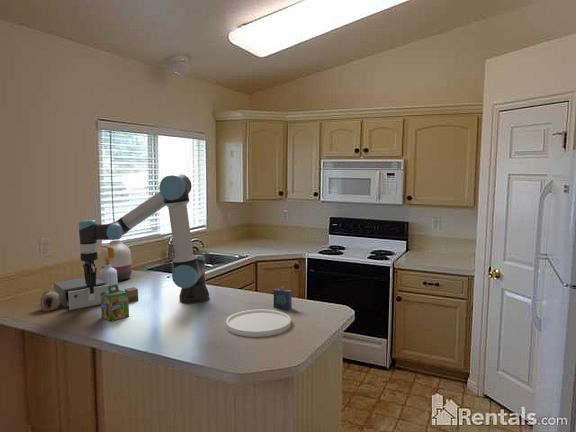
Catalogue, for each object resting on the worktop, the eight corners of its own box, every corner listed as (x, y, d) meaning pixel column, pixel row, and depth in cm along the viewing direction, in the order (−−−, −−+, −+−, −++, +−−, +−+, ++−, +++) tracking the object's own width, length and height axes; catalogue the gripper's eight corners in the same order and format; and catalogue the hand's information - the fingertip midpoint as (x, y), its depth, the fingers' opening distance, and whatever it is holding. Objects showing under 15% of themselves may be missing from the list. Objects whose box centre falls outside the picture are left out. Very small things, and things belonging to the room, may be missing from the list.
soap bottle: (96, 290, 245) (94, 247, 242) (109, 286, 253) (106, 244, 251) (109, 292, 242) (106, 248, 239) (121, 287, 250) (119, 245, 247)
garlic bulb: (42, 314, 213) (34, 295, 212) (60, 307, 218) (53, 288, 218) (47, 312, 206) (39, 292, 206) (65, 305, 212) (58, 286, 212)
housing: (106, 299, 228) (105, 282, 227) (64, 307, 215) (63, 289, 214) (95, 292, 242) (94, 276, 241) (55, 299, 229) (53, 282, 228)
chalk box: (111, 322, 194) (109, 289, 192) (100, 317, 200) (98, 285, 198) (130, 316, 201) (128, 285, 199) (119, 312, 207) (118, 281, 205)
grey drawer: (110, 302, 222) (109, 285, 221) (70, 310, 210) (69, 292, 209) (98, 294, 236) (97, 278, 235) (59, 301, 224) (58, 284, 223)
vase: (107, 276, 278) (105, 239, 275) (135, 275, 280) (133, 238, 277) (98, 283, 261) (96, 243, 259) (128, 282, 263) (126, 243, 260)
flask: (292, 308, 211) (292, 286, 210) (290, 310, 208) (289, 288, 207) (274, 306, 214) (274, 284, 213) (272, 308, 212) (272, 286, 210)
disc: (96, 292, 221) (95, 289, 221) (79, 295, 216) (79, 292, 216) (91, 289, 227) (90, 285, 227) (74, 292, 222) (74, 288, 222)
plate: (266, 342, 170) (266, 336, 170) (212, 329, 185) (212, 323, 185) (302, 321, 194) (302, 315, 194) (251, 310, 209) (251, 305, 208)
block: (138, 300, 226) (137, 289, 225) (128, 302, 222) (128, 290, 222) (134, 298, 229) (134, 287, 229) (125, 300, 226) (124, 288, 225)
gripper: (101, 252, 209) (104, 301, 212) (92, 249, 219) (95, 295, 221) (84, 254, 204) (87, 304, 207) (76, 251, 214) (79, 298, 216)
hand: (91, 299), depth 214 cm, fingers closed
